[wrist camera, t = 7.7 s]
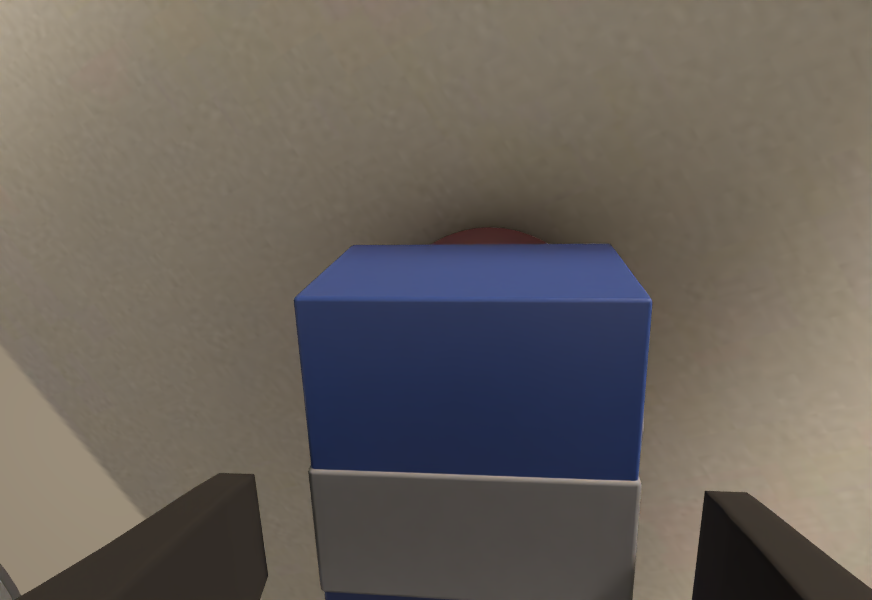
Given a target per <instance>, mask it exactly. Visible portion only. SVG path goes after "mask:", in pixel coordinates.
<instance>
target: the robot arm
mask: <svg viewBox="0 0 872 600" xmlns="http://www.w3.org/2000/svg"><path fill="white" fill-rule="evenodd" d="M267 578H268V570H267V563H266V556H265V548H264V541H263V534H262V527H261V519H260V512H259V505H258V498H257V490H256V483H255V476H254V474H229V473H219V474H217V475H215V476H214V477H212V478H210V479H208V480H206V481H205V482H203V483H201V484H200V485H198V486H197V487H195V488H193V489H192V490H190V491H189V492H187V493H186V494H184V495H182V496H181V497H179V498H178V499H176V500H175V501H173V502H172V503H170V504H169V505H167V506H166V507H164V508H163V509H161V510H160V511H158V512H156V513H155V514H153V515H152V516H150V517H149V518H147V519H146V520H144V521H143V522H141V523H140V524H138V525H136V526H135V527H134V528H132V529H130V530H129V531H127V532H126V533H124V534H123V535H121V536H120V537H118V538H116V539H115V540H113V541H112V542H110V543H109V544H107V545H105V546H104V547H102V548H101V549H99V550H98V551H96V552H94V553H92V554H91V555H89V556H87V557H86V558H84V559H82V560H81V561H79V562H77V563H76V564H74V565H72V566H71V567H69V568H68V569H66V570H64V571H62V572H61V573H59V574H58V575H56V576H54V577H52V578H51V579H49V580H47V581H46V582H44V583H43V584H41V585H39V586H38V587H36V588H34V589H32V590H31V591H29V592H27V593H25V594H24V595H22V596H20V597H18V598H16V599H15V600H260V598H261V595H262V592H263V589H264V586H265V583H266V580H267ZM692 600H872V589H871V588H870V587H868V586H867V585H866V584H864V583H863V582H862V581H860V580H859V579H858V578H856V577H855V576H854V575H852V574H851V573H850V572H849V571H847V570H846V569H845V568H843V567H842V566H841V565H839V564H838V563H837V562H836V561H834V560H833V559H832V558H831V557H829V556H828V555H827V554H825V553H824V552H823V551H822V550H820V549H819V548H818V547H817V546H815V545H814V544H813V543H811V542H810V541H809V540H808V539H806V538H805V537H804V536H803V535H801V534H800V533H799V532H798V531H796V530H795V529H794V528H793V527H791V526H790V525H789V524H788V523H786V522H785V521H784V520H782V519H781V518H780V517H779V516H777V515H776V514H775V513H774V512H772V511H771V510H770V509H768V508H767V507H766V506H765V505H763V504H762V503H761V502H759V501H758V500H757V499H755V498H754V497H752V496H751V495H750V494H748V493H747V492H720V491H705V494H704V503H703V511H702V520H701V528H700V537H699V545H698V553H697V562H696V570H695V579H694V587H693V595H692Z"/></svg>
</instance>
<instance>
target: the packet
mask: <svg viewBox="0 0 872 600" xmlns="http://www.w3.org/2000/svg"><path fill="white" fill-rule="evenodd" d="M294 307H295V316H296V326H297V335H298V345H299V354H300V364H301V373H302V383H303V392H304V402H305V411H306V420H307V430H308V439H309V449H310V458H311V466H310V468H309V471H308V474H309V483H310V492H311V502H312V511H313V520H314V530H315V539H316V548H317V558H318V567H319V576H320V585H321V589H322V591H324V592H325V600H632V597H633V585H634V573H635V560H636V548H637V536H638V524H639V512H640V500H641V488H642V483H641V480H640V478H639V464H640V452H641V439H642V427H643V414H644V402H645V389H646V377H647V364H648V352H649V340H650V327H651V315H652V299H651V298H650V296H649V295H648V294H647V292H646V291H645V290H644V288H643V287H642V286H641V284H640V283H639V282H638V280H637V279H636V278H635V276H634V275H633V274H632V272H631V271H630V270H629V268H628V267H627V265H626V264H625V263H624V261H623V260H622V259H621V257H620V256H619V255H618V253H617V252H616V251H615V249H614V248H613V247H612V245H611V244H453V245H353V246H351V247H350V248H349V249H348V250H347V251H345V252H344V253H343V254H342V255H341V256H340V257H339V258H338V259H337V260H335V261H334V262H333V263H332V264H331V265H330V266H329V267H328V268H327V269H325V270H324V271H323V272H322V273H321V274H320V275H319V276H318V277H317V278H315V279H314V280H313V281H312V282H311V283H310V284H309V285H308V286H307V287H305V288H304V289H303V290H302V291H301V292H300V293H299V294H298V295H297V296H296V297H295V298H294Z"/></svg>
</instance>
